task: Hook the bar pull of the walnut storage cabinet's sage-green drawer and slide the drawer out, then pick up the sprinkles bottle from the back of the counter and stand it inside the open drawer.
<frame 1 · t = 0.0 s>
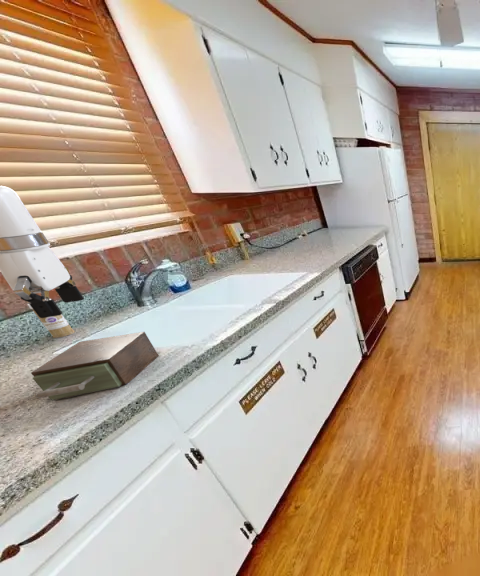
hand: (63, 308, 74), 23 cm above the countertop, tool pointing down, fingers open, 9 cm apart
cabinet: (111, 375, 85), on the countertop
drawer: (90, 372, 79), point 5 cm above the countertop, slide at 0.0 cm, touching cabinet
sprinkles bottle: (65, 335, 103), on the countertop
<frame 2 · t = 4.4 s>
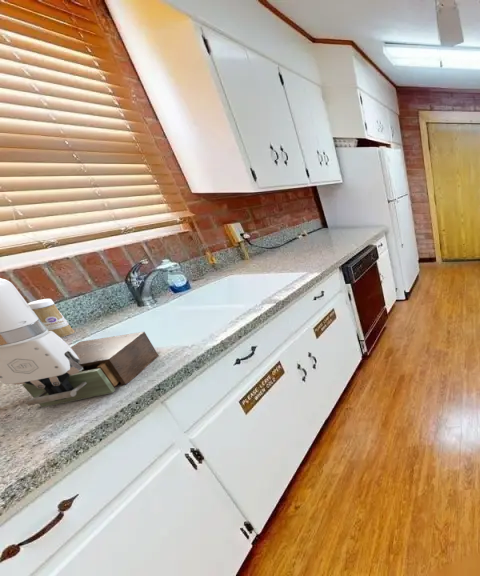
hand: (65, 396, 72), 4 cm above the countertop, tool pointing down, fingers closed
drawer: (83, 378, 77), point 5 cm above the countertop, slide at 2.5 cm
everything else where it was.
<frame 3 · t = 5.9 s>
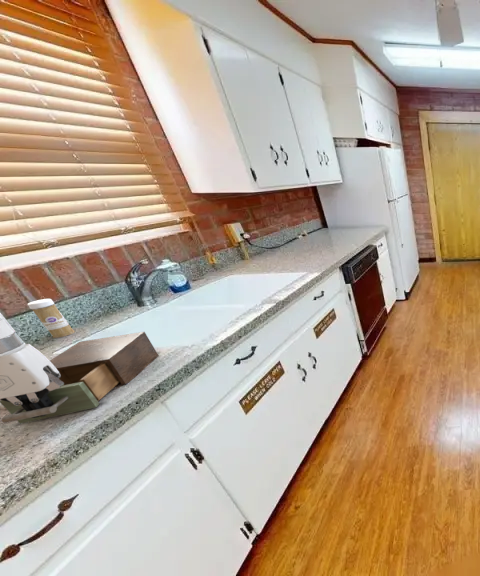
hand: (44, 412, 68), 4 cm above the countertop, tool pointing down, fingers closed
drawer: (65, 391, 73), point 5 cm above the countertop, slide at 7.9 cm
everything else where it was.
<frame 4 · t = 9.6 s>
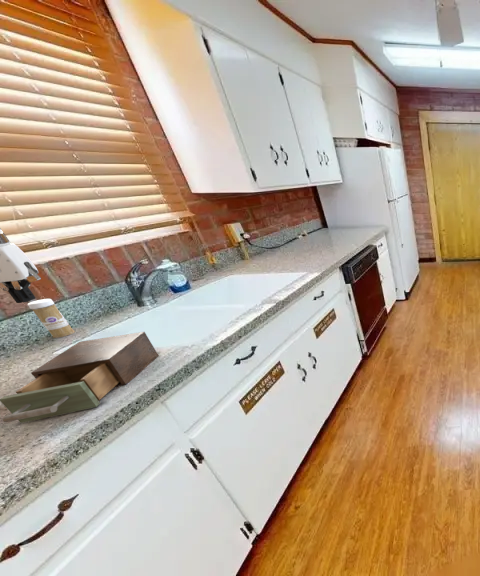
hand: (26, 300, 88), 18 cm above the countertop, tool pointing down, fingers closed
nothing on the countertop moved.
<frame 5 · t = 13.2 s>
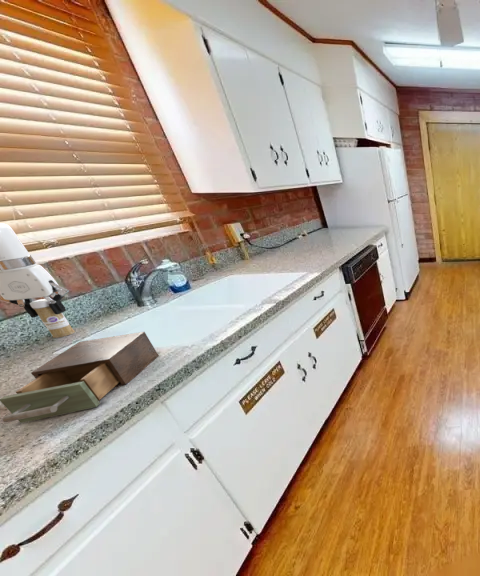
hand: (49, 313, 100), 9 cm above the countertop, tool pointing down, fingers closed on sprinkles bottle, 4 cm apart
sprinkles bottle: (65, 335, 103), on the countertop, touching gripper
everything else where it was.
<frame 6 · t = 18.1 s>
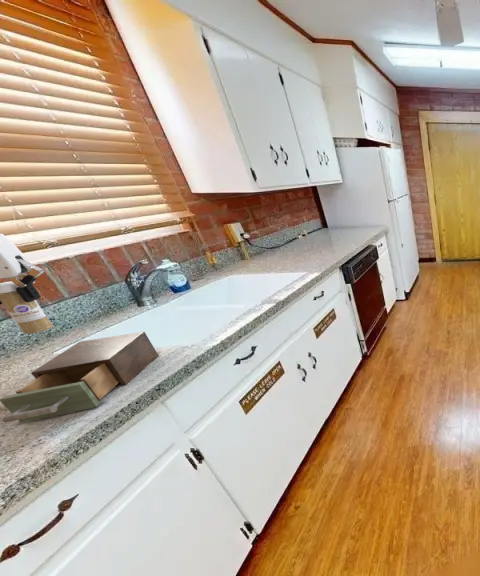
hand: (17, 301, 74), 24 cm above the countertop, tool pointing down, fingers closed on sprinkles bottle, 4 cm apart
sprinkles bottle: (40, 330, 78), point 16 cm above the countertop, touching gripper
everything else where it was.
when the fingers open (11 cm above the countertop, at t = 23.0 s): sprinkles bottle stays where it is, resting on drawer.
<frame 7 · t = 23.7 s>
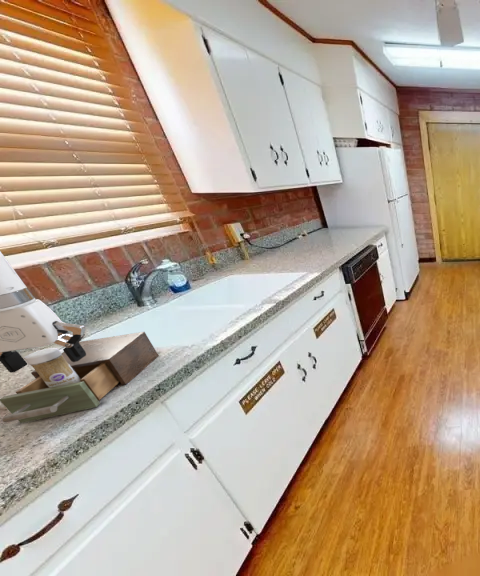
hand: (50, 363, 71), 12 cm above the countertop, tool pointing down, fingers open, 9 cm apart
drawer: (66, 391, 73), point 5 cm above the countertop, slide at 7.7 cm, touching sprinkles bottle
sprinkles bottle: (76, 396, 75), point 2 cm above the countertop, touching drawer
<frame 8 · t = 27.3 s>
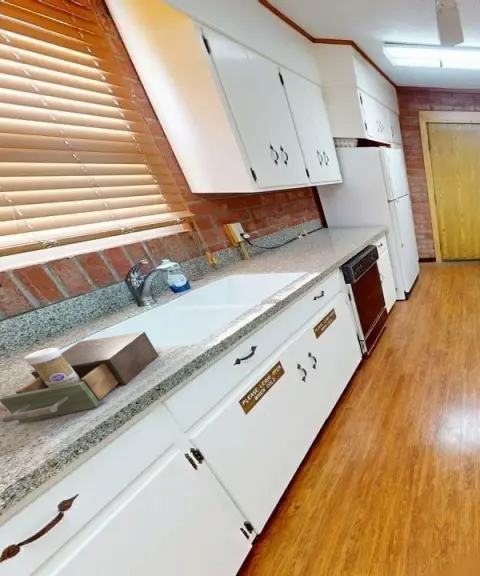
nothing on the countertop moved.
at the end: drawer slide at 7.7 cm; sprinkles bottle inside the target area in the drawer (0.3 cm from its centre), point 1.9 cm above the cabinet's base; sprinkles bottle tilted 3° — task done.
